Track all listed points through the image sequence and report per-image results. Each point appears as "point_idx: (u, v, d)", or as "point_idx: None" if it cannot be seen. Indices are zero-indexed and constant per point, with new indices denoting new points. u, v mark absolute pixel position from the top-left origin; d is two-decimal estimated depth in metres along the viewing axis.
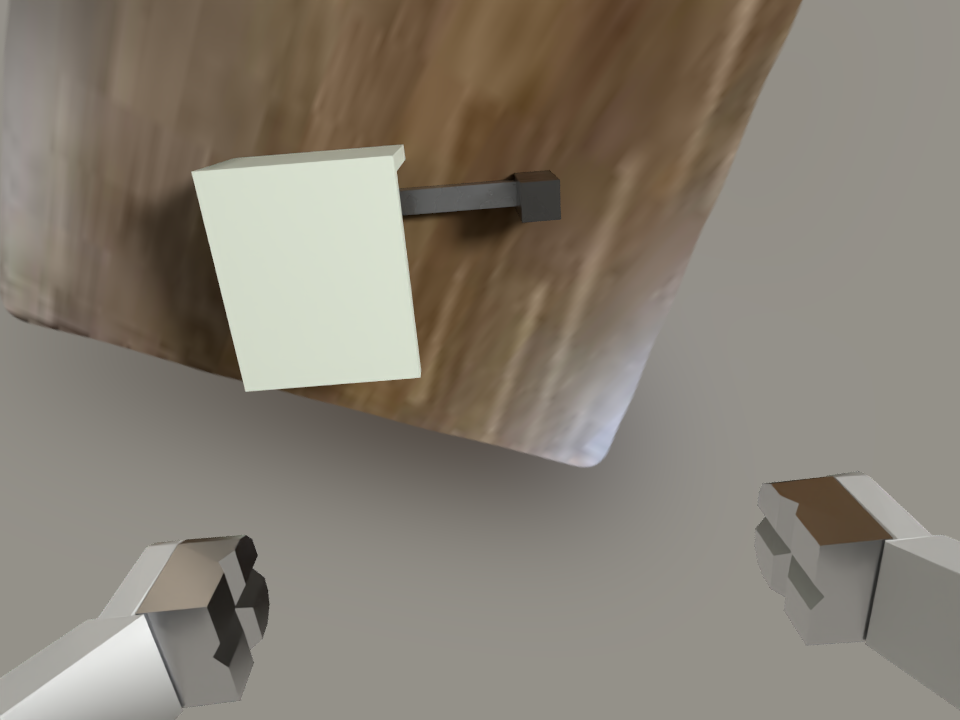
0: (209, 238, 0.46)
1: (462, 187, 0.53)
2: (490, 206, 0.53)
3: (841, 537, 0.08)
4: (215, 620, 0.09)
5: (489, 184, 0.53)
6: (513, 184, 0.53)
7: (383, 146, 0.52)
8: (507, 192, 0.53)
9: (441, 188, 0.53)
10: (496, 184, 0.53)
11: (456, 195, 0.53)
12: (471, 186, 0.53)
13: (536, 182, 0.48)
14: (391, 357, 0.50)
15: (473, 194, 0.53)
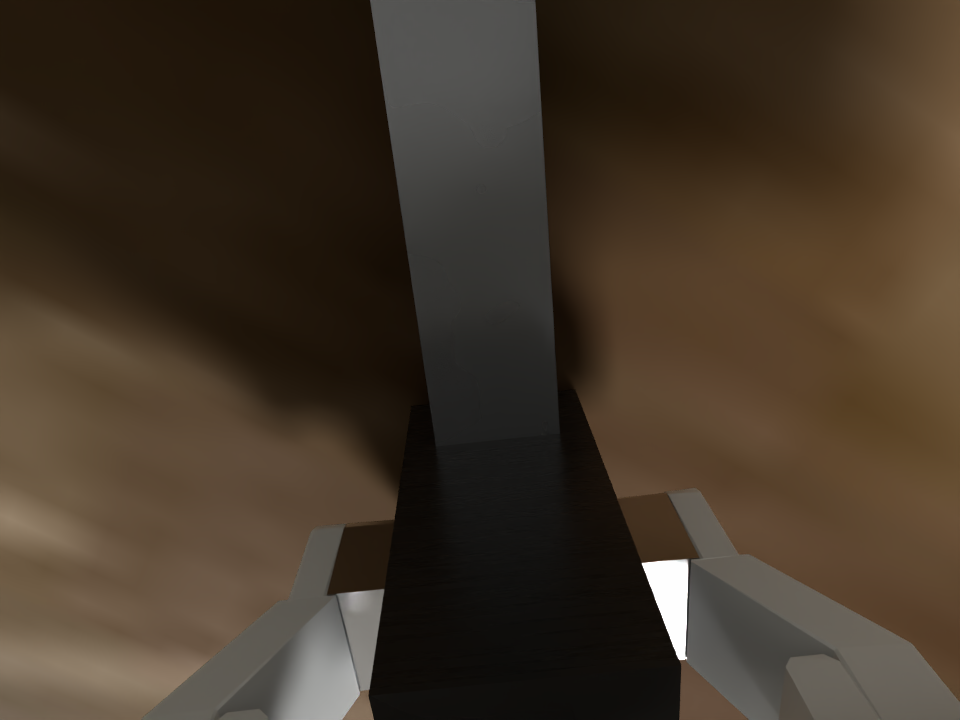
0: None
1: (532, 145, 0.09)
2: (426, 315, 0.09)
3: (652, 556, 0.08)
4: None
5: (547, 304, 0.09)
6: (545, 424, 0.10)
7: None
8: (504, 398, 0.10)
9: None
10: (547, 341, 0.10)
11: (484, 105, 0.08)
12: (539, 202, 0.09)
13: None
14: None
15: (492, 215, 0.09)
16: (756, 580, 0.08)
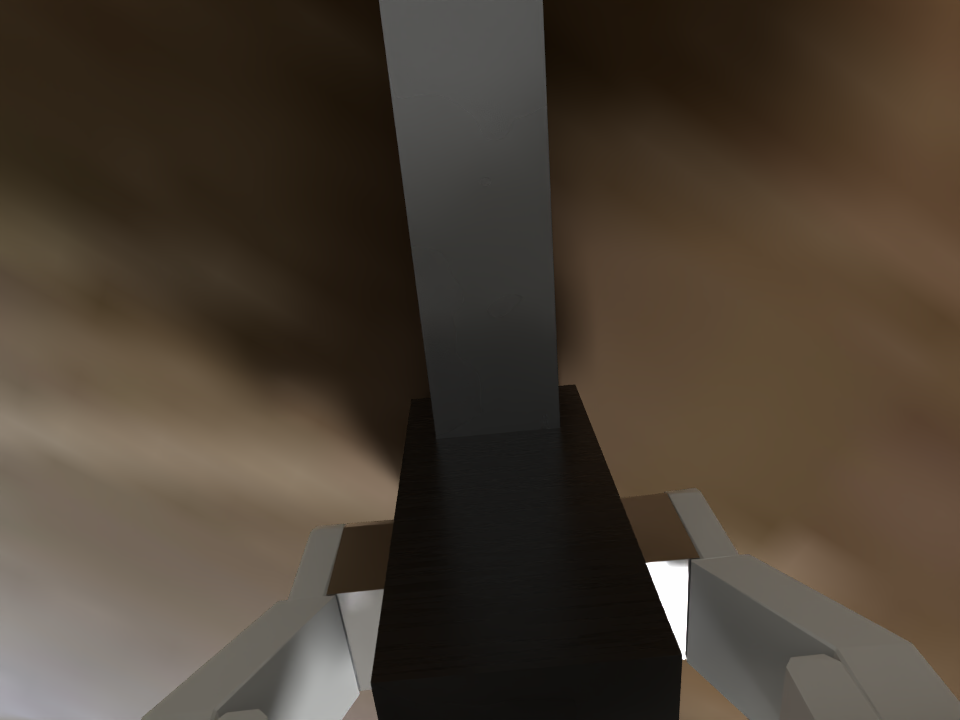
0: None
1: (537, 138, 0.09)
2: (428, 307, 0.09)
3: (652, 556, 0.08)
4: None
5: (549, 297, 0.09)
6: (546, 418, 0.10)
7: None
8: (505, 391, 0.10)
9: None
10: (549, 335, 0.10)
11: (490, 98, 0.08)
12: (543, 195, 0.09)
13: None
14: None
15: (496, 208, 0.09)
16: (756, 580, 0.08)
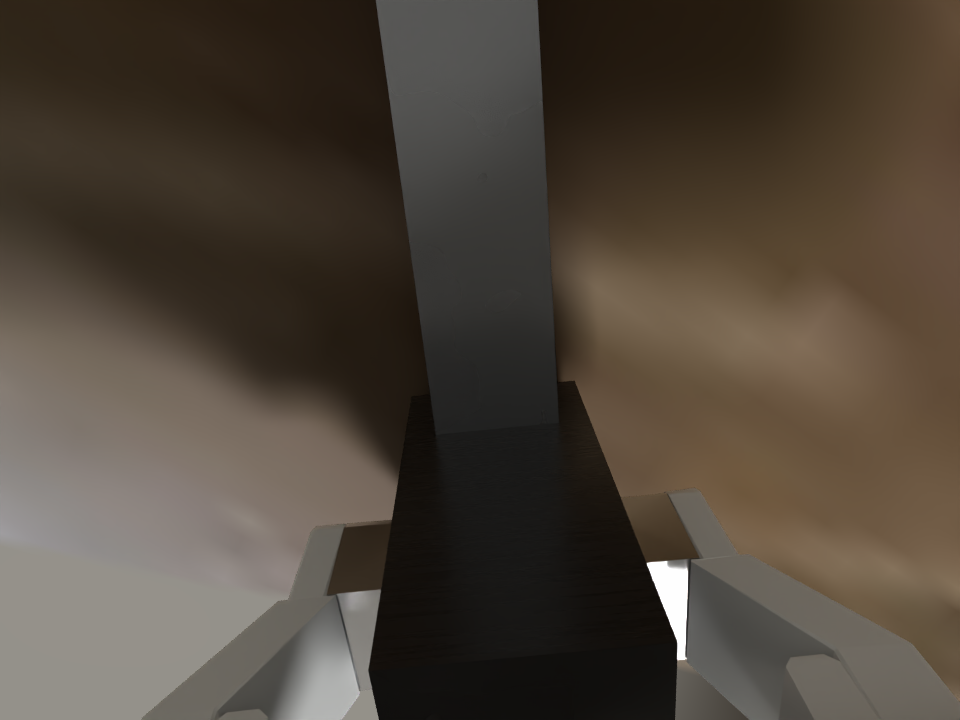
0: None
1: (533, 134, 0.09)
2: (427, 303, 0.09)
3: (652, 556, 0.08)
4: None
5: (547, 293, 0.09)
6: (544, 413, 0.10)
7: None
8: (504, 386, 0.10)
9: None
10: (547, 330, 0.10)
11: (486, 94, 0.08)
12: (539, 191, 0.09)
13: None
14: None
15: (493, 204, 0.09)
16: (756, 580, 0.08)
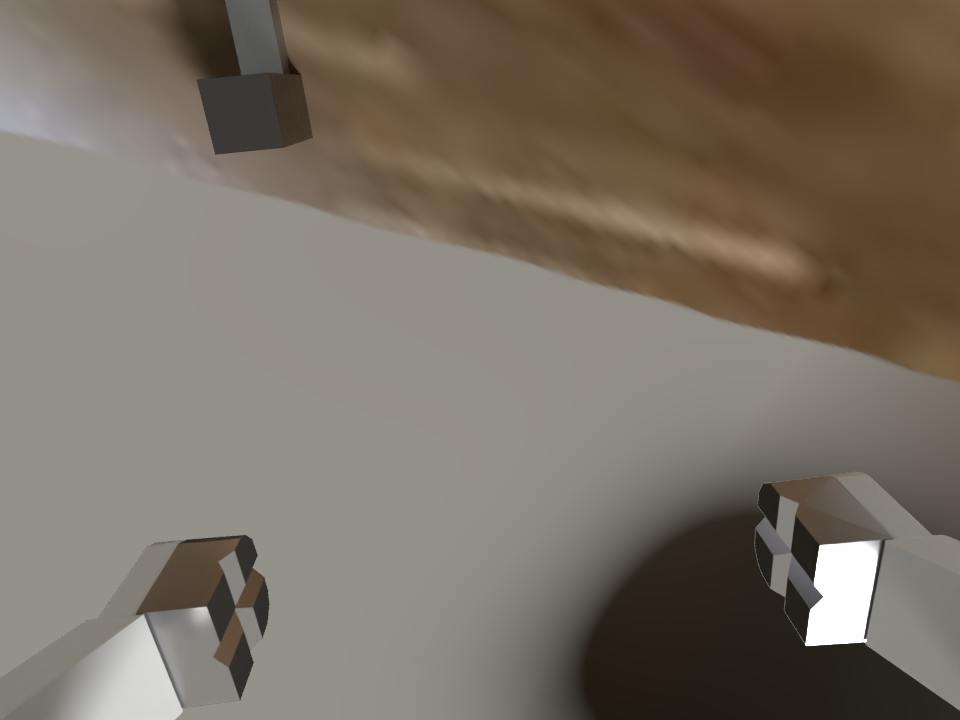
0: None
1: None
2: (234, 27, 0.30)
3: (841, 537, 0.08)
4: (215, 620, 0.09)
5: (272, 25, 0.30)
6: (278, 71, 0.31)
7: None
8: (263, 60, 0.30)
9: None
10: (274, 38, 0.30)
11: None
12: None
13: (273, 104, 0.27)
14: None
15: None
16: None
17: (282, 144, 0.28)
